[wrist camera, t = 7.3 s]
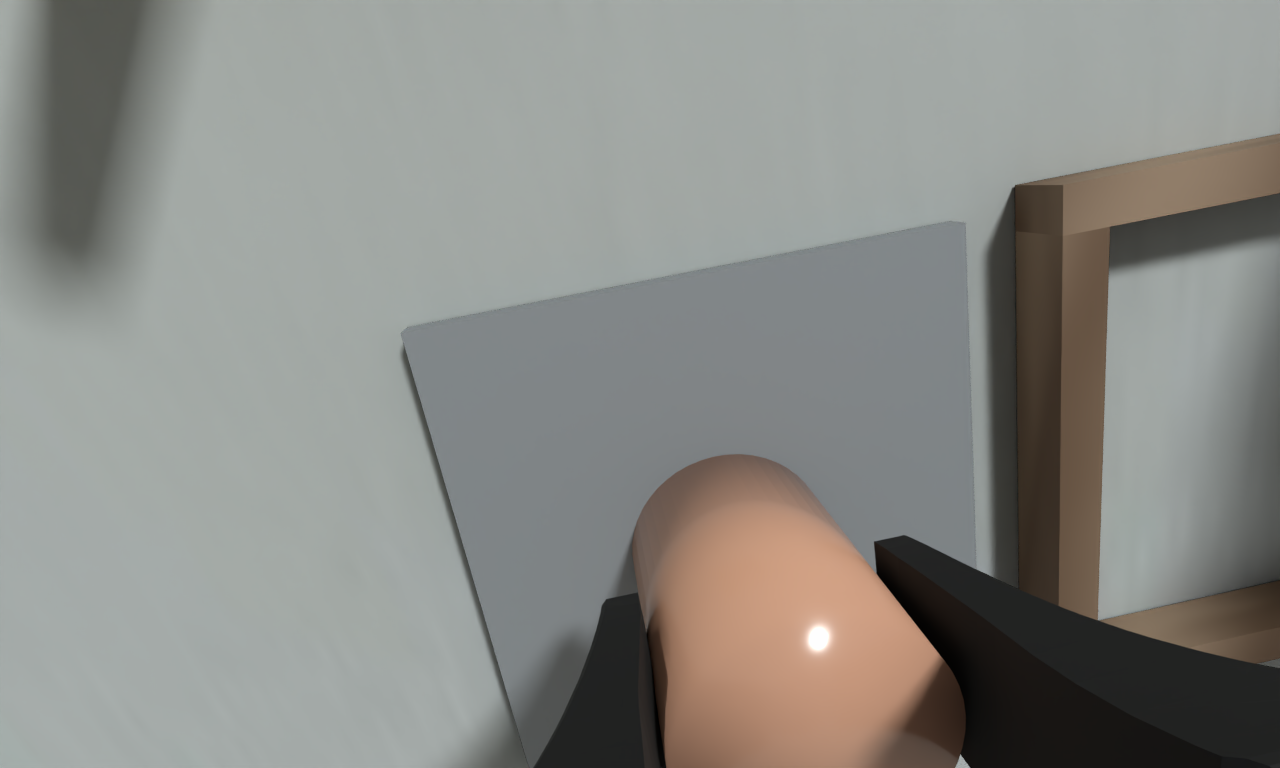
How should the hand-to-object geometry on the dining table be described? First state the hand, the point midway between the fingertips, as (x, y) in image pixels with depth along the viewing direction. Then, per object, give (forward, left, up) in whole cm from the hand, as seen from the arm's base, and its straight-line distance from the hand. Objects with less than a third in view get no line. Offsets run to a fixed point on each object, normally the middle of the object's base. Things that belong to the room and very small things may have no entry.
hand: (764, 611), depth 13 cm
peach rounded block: (0, 0, -3) cm, 3 cm away
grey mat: (0, 0, -4) cm, 4 cm away
